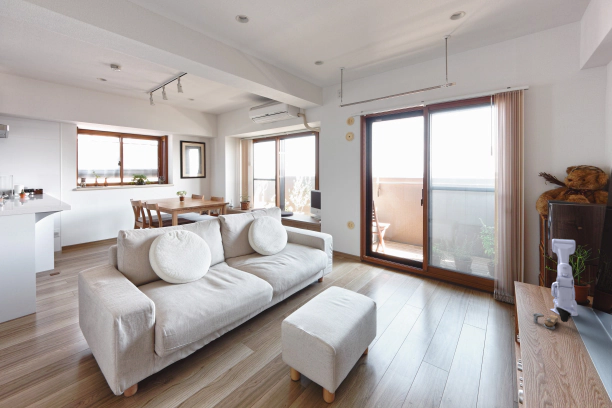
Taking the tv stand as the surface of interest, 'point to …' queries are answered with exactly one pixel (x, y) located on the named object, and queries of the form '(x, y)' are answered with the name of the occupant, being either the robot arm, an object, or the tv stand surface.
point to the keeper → (537, 316)
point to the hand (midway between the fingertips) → (564, 321)
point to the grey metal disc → (548, 327)
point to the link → (551, 320)
